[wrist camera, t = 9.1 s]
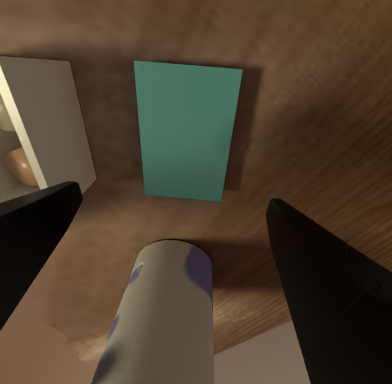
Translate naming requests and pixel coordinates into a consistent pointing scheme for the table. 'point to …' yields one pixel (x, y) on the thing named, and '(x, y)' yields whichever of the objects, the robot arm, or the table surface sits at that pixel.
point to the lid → (185, 127)
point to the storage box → (40, 128)
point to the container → (163, 320)
